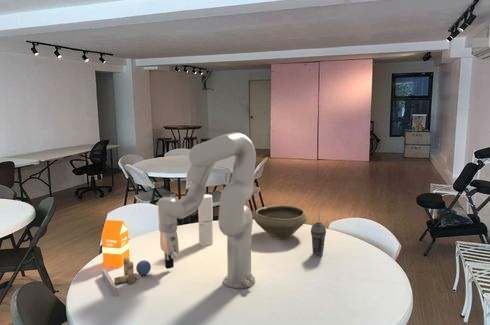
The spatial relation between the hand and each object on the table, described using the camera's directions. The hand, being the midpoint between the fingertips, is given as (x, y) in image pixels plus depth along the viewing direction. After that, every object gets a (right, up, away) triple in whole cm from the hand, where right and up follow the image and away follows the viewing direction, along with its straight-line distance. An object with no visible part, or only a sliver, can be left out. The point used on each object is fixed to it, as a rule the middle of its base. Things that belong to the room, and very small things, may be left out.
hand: (169, 267), depth 167 cm
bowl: (+51, +5, +44) cm, 68 cm away
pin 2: (-13, -3, -11) cm, 18 cm away
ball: (-10, +1, -4) cm, 11 cm away
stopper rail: (-21, -4, -13) cm, 25 cm away
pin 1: (-16, -3, -7) cm, 18 cm away
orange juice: (-26, -1, +9) cm, 27 cm away
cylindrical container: (+12, +3, +33) cm, 35 cm away
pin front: (-12, -2, -7) cm, 14 cm away
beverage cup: (+67, +1, +17) cm, 69 cm away
